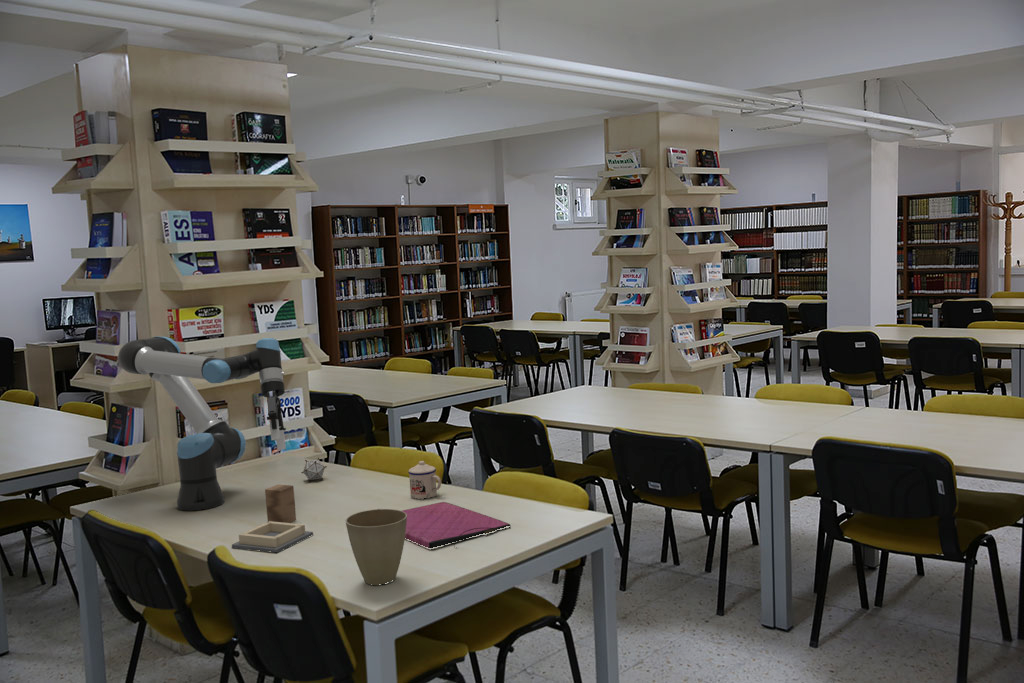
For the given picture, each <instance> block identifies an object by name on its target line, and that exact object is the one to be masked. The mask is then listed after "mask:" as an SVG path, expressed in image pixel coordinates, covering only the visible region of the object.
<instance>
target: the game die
mask: <svg viewBox="0 0 1024 683" xmlns="http://www.w3.org/2000/svg"><path fill="white" fill-rule="evenodd" d="M304 461H305V464H304V468H303V471H302V472H301V474H304V475H305V477H306V478H307V479H308V483H310V482H311V481H314V480H319V479H320V480H322V481H324V478H323V475H324V472H325V469H326V468H327V467H328V466H327V465H325V466H324V464H323V463H322V462H321V461H320V457H317V459H312V460H307V459H304Z"/></svg>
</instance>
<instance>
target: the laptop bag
mask: <svg viewBox="0 0 1024 683" xmlns="http://www.w3.org/2000/svg"><path fill="white" fill-rule="evenodd" d="M401 511H403V512H405V513H406V514H407V523H406V533H405V538H406V539H409V540H411V541H413V542H416V543H418V544H420V545H423V546H425V547H428V548H433V547H437V546H441V545H445V544H448V543H452V542H456V541H459V540H463V539H466V538H469V537H472V536H476V535H479V534H483V533H485V534H486V533H489V532H492V531H495V530H497V529H500V528H504V527H506V526H510V527H511V524H510V523H508V522H505V521H504V520H500V519H497V518H494V517H492V516H490V515H486V514H483V513H480V512H477V511H474V510H471V509H468V508H465V507H461V506H459V505H455V504H453V503H449V502H446V501H441V502H435V503H432V504H426V505H421V506H418V507H417V506H416V507H413V508H408V509H402V510H401ZM455 544H456V543H454V544H453V547H454V548H455V547H456V546H455Z"/></svg>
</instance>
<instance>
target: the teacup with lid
mask: <svg viewBox="0 0 1024 683" xmlns="http://www.w3.org/2000/svg"><path fill="white" fill-rule="evenodd" d="M436 471H437V469H436V467H435V466H432V465H429V464H427V463H426V462H425V460H419V461H418V464H416V465H415V466H413V467H411V468H409V469H408V474H409V476H408V477H409V487H410V488H409V489H410V490H409V491H410V497H411V499H414V498H417V499H416V500H425V499H424V498H428V499H431V498H430V497H432V498H434V497H436V496H437V494H438V490H440V488H441V487H442V480H441V478H440V476H439V475H436Z"/></svg>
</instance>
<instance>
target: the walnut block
mask: <svg viewBox="0 0 1024 683" xmlns="http://www.w3.org/2000/svg"><path fill="white" fill-rule="evenodd" d="M294 489H295V488H294V485H291V484H290V485H289V484H276V485H274V486H270V487H268V488H266V489H265V488H264V492H265V506H266V515H267V522H269V521H272V522H282V523H291V522H292V523H293V521H294V522H296V521H297V514H296V512H297V511H296V504H295V503H296V500H295V490H294ZM295 520H296V521H295Z"/></svg>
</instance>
